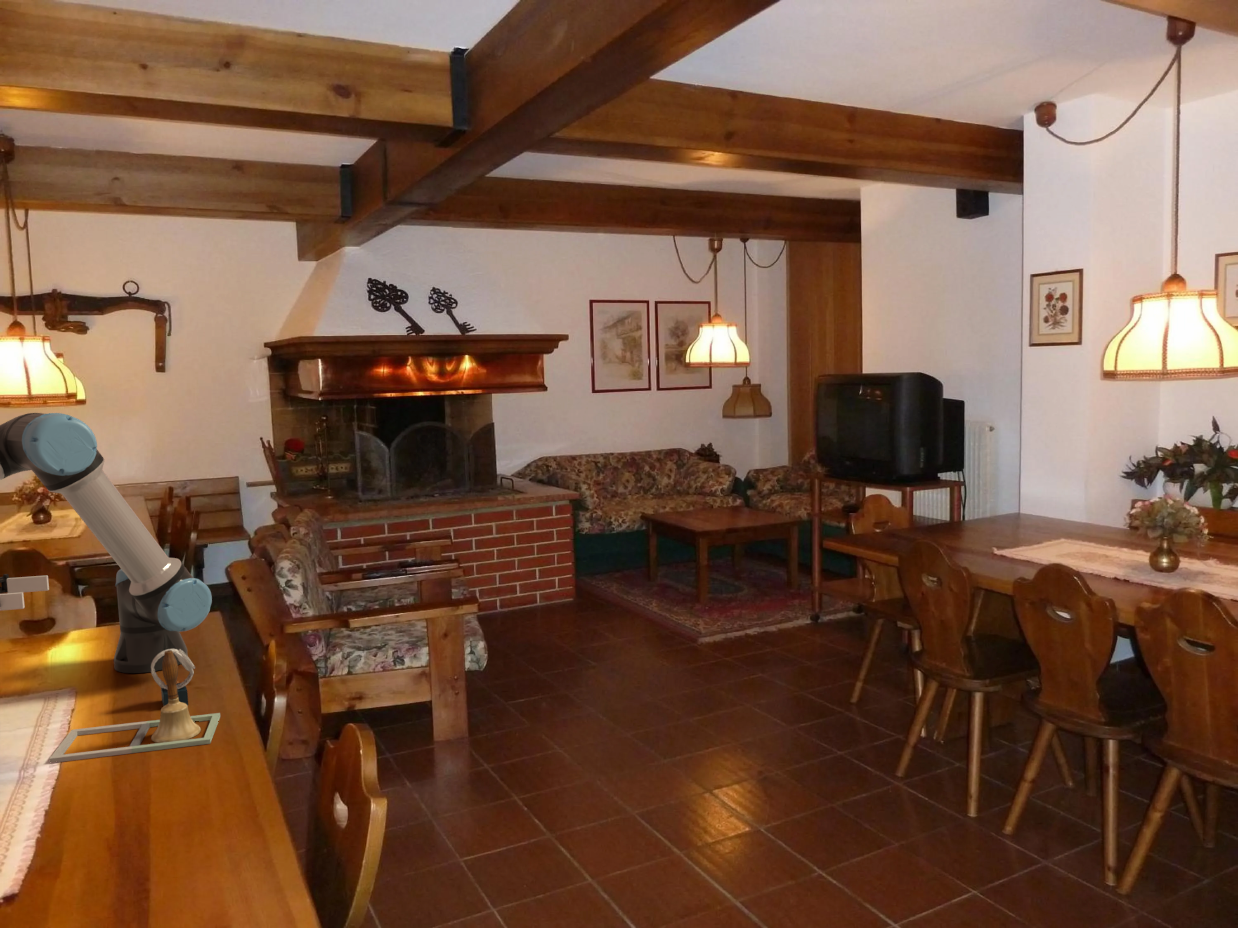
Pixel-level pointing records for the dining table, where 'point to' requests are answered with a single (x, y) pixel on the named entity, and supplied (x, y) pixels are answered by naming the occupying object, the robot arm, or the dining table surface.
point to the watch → (180, 686)
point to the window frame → (136, 742)
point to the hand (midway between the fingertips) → (36, 591)
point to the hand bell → (173, 709)
